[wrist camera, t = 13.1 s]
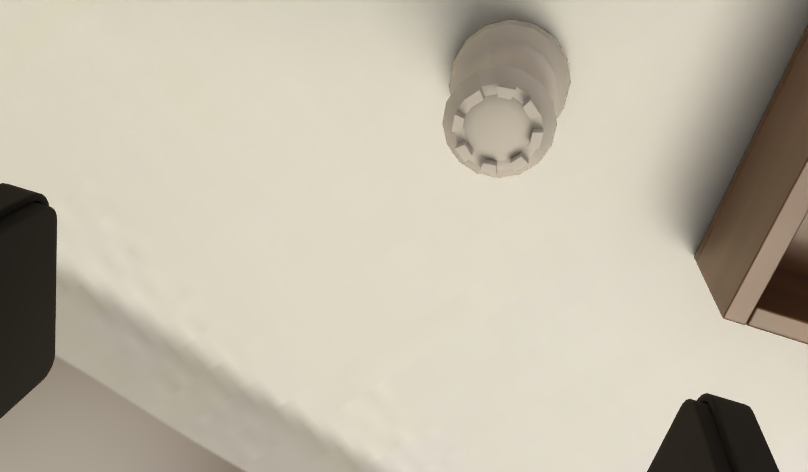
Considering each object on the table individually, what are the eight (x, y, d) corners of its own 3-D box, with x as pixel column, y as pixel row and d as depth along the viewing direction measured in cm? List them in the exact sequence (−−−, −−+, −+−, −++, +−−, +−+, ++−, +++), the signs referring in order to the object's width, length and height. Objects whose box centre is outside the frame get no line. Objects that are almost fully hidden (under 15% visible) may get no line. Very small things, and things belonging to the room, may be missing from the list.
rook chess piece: (433, 47, 27) (391, 88, 19) (545, -3, 25) (545, 21, 18) (477, 152, 28) (454, 228, 21) (587, 111, 26) (602, 176, 19)
